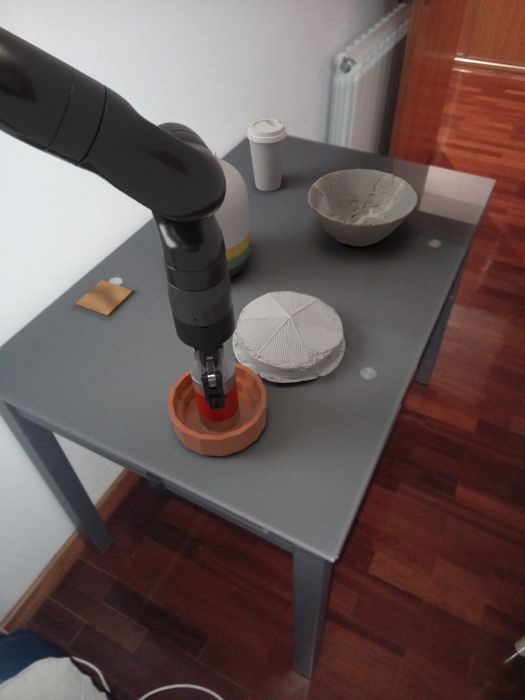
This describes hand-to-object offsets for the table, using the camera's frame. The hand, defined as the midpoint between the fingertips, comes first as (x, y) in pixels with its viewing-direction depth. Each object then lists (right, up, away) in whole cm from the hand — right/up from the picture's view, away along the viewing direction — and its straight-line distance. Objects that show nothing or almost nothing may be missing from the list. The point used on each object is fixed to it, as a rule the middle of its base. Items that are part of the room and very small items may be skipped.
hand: (215, 387), depth 71 cm
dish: (0, -5, +5) cm, 7 cm away
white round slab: (+11, +7, +16) cm, 21 cm away
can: (0, -5, +5) cm, 7 cm away
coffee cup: (+8, +48, +54) cm, 73 cm away
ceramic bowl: (+28, +31, +38) cm, 57 cm away
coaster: (-24, +16, +26) cm, 39 cm away
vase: (-4, +23, +32) cm, 40 cm away
